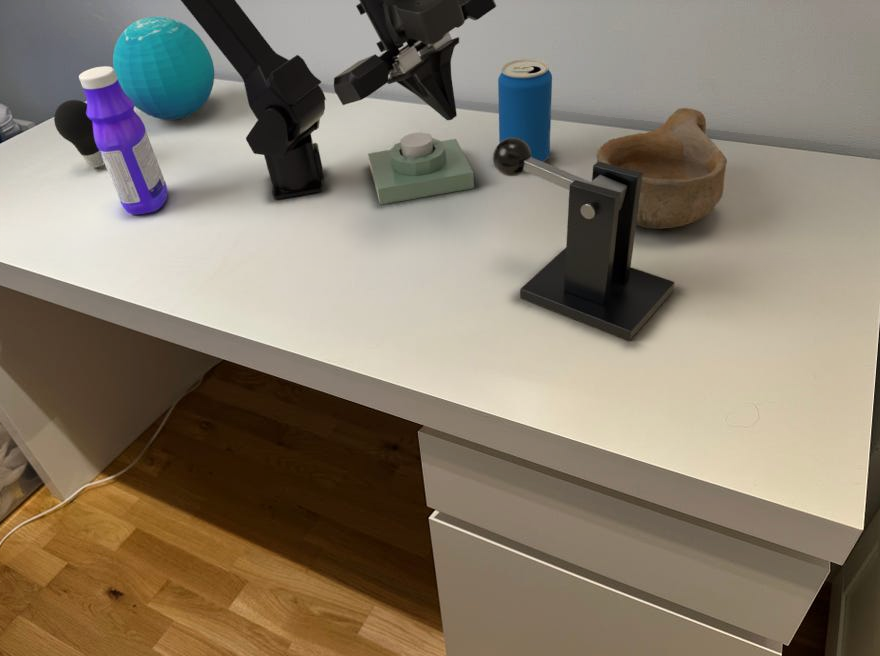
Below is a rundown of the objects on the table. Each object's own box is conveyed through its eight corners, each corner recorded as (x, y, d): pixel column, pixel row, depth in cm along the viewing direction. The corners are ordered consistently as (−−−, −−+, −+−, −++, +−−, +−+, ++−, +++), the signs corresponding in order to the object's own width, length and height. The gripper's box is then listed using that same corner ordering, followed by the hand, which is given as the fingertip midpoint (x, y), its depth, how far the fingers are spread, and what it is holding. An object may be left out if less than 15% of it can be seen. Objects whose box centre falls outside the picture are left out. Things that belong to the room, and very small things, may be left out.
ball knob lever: (484, 174, 68) (487, 141, 65) (505, 159, 70) (509, 126, 67) (604, 228, 62) (613, 194, 60) (624, 210, 64) (633, 176, 61)
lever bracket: (519, 298, 71) (519, 183, 62) (566, 255, 75) (573, 142, 67) (629, 341, 64) (646, 220, 56) (673, 291, 69) (695, 172, 60)
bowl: (597, 152, 89) (628, 76, 81) (705, 190, 87) (747, 116, 79) (567, 224, 77) (600, 143, 69) (691, 270, 75) (738, 192, 68)
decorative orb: (243, 100, 117) (217, 3, 107) (190, 139, 108) (156, 37, 97) (171, 94, 122) (140, 2, 112) (114, 132, 113) (75, 34, 103)
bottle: (133, 193, 96) (79, 64, 84) (174, 187, 96) (126, 58, 84) (121, 220, 91) (62, 87, 79) (164, 215, 91) (111, 80, 79)
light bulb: (68, 175, 102) (37, 109, 96) (96, 157, 106) (67, 92, 99) (99, 179, 100) (69, 112, 94) (126, 160, 104) (99, 94, 97)
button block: (380, 204, 87) (375, 175, 84) (370, 168, 95) (365, 140, 92) (474, 188, 88) (472, 158, 85) (457, 153, 95) (455, 125, 93)
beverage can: (547, 171, 89) (550, 77, 81) (497, 171, 90) (494, 78, 82) (550, 148, 94) (554, 56, 86) (502, 148, 95) (501, 58, 87)
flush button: (404, 162, 87) (403, 148, 86) (399, 148, 90) (398, 135, 89) (436, 156, 87) (434, 143, 86) (430, 142, 90) (428, 130, 89)
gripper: (336, 5, 61) (422, 163, 68) (490, -95, 65) (557, 62, 72) (297, 31, 71) (376, 166, 77) (434, -58, 75) (497, 77, 82)
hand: (452, 118), depth 77 cm, fingers closed
